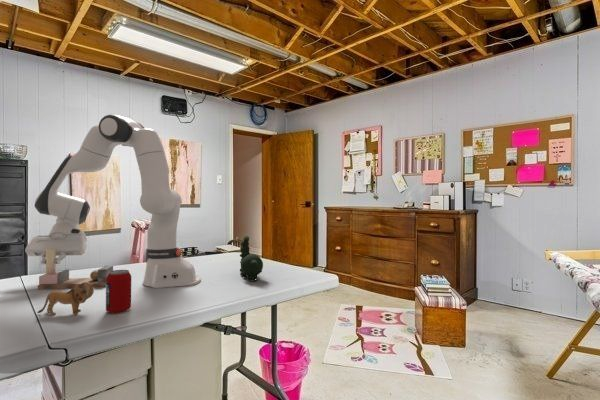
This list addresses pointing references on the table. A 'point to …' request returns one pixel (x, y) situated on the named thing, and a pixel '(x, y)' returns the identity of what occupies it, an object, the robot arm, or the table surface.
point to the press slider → (52, 270)
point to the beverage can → (118, 291)
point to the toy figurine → (249, 262)
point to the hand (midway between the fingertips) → (49, 263)
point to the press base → (82, 280)
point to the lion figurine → (69, 297)
